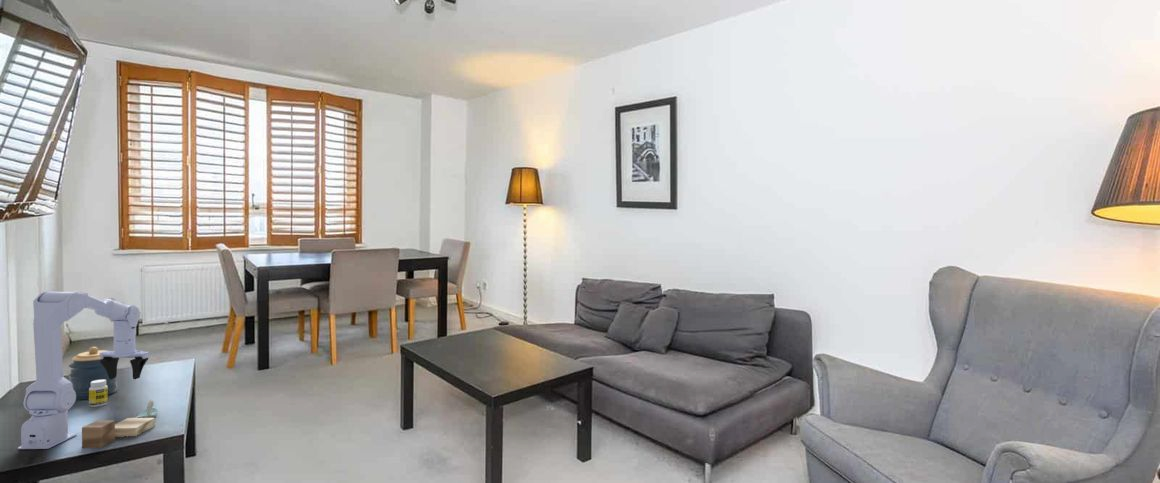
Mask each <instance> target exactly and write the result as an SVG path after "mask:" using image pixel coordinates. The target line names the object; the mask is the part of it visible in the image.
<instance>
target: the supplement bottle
mask: <svg viewBox="0 0 1160 483" xmlns="http://www.w3.org/2000/svg"><path fill="white" fill-rule="evenodd" d="M107 393H108V387H107V385H106V380H95V381H92V382H91V387H90V388H89V399H88V406H89V407H91V408H96V407H102V406H104V405H107V404H108V395H107Z"/></svg>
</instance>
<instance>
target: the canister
mask: <svg viewBox="0 0 1160 483" xmlns="http://www.w3.org/2000/svg"><path fill="white" fill-rule="evenodd" d="M104 351H107V350H99V348H98V347H97V346H91V347H89V349H88V351H84V352H79V353H78V354H76V355H75V356H73V357H72V358H71V360H72V361H73V362H71V363H69V364H68V367H69V368H70V373H69V374H68V378H69V379H68V380H69V381H70V382H71V383H72V384H73V390H74V391H75V393H76V400H89V388H90V387H91V382H92V381H95V380H106V385H107V387H108V393H107V396H109V395H111V394H114V393H115V392H116V391H117V389H118V382H117V376H116V378H113V379H109V376H108V373H107V371H106V369H105V367H104V366H103V365H102V364H101V363H100V361H101V360H103V358H100V353H101V352H104Z"/></svg>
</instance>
